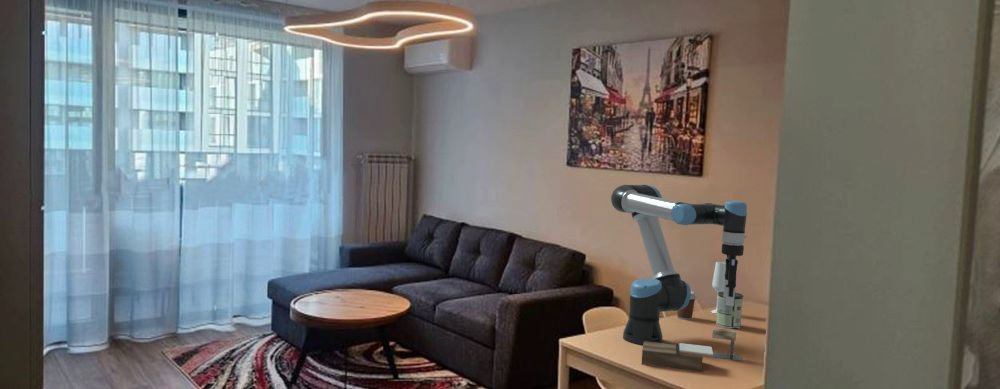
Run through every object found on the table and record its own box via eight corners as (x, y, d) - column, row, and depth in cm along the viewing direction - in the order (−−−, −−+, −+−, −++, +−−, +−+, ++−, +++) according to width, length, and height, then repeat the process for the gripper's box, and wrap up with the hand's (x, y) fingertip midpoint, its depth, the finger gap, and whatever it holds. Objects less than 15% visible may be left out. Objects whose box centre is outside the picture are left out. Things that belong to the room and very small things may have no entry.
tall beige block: (740, 356, 248) (742, 330, 247) (742, 361, 242) (744, 334, 242) (698, 351, 252) (700, 325, 251) (698, 356, 246) (700, 329, 245)
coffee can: (719, 321, 300) (721, 290, 299) (743, 325, 294) (745, 293, 293) (712, 325, 291) (715, 293, 290) (737, 330, 286) (740, 297, 285)
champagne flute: (707, 311, 319) (711, 261, 317) (721, 311, 319) (725, 261, 318) (713, 314, 312) (716, 263, 311) (727, 315, 313) (731, 264, 311)
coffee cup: (697, 321, 298) (699, 294, 297) (676, 320, 298) (678, 293, 297) (691, 316, 307) (693, 290, 306) (671, 314, 307) (673, 289, 306)
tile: (679, 346, 239) (679, 342, 239) (711, 350, 237) (711, 346, 236) (679, 353, 231) (679, 350, 230) (712, 357, 228) (713, 354, 228)
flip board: (642, 354, 244) (643, 339, 244) (700, 361, 239) (701, 346, 239) (641, 364, 232) (642, 348, 232) (701, 371, 228) (702, 355, 227)
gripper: (747, 249, 230) (742, 310, 232) (741, 240, 254) (736, 295, 256) (724, 247, 232) (719, 307, 234) (720, 238, 256) (715, 293, 258)
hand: (728, 301), depth 245 cm, fingers open, 13 cm apart
